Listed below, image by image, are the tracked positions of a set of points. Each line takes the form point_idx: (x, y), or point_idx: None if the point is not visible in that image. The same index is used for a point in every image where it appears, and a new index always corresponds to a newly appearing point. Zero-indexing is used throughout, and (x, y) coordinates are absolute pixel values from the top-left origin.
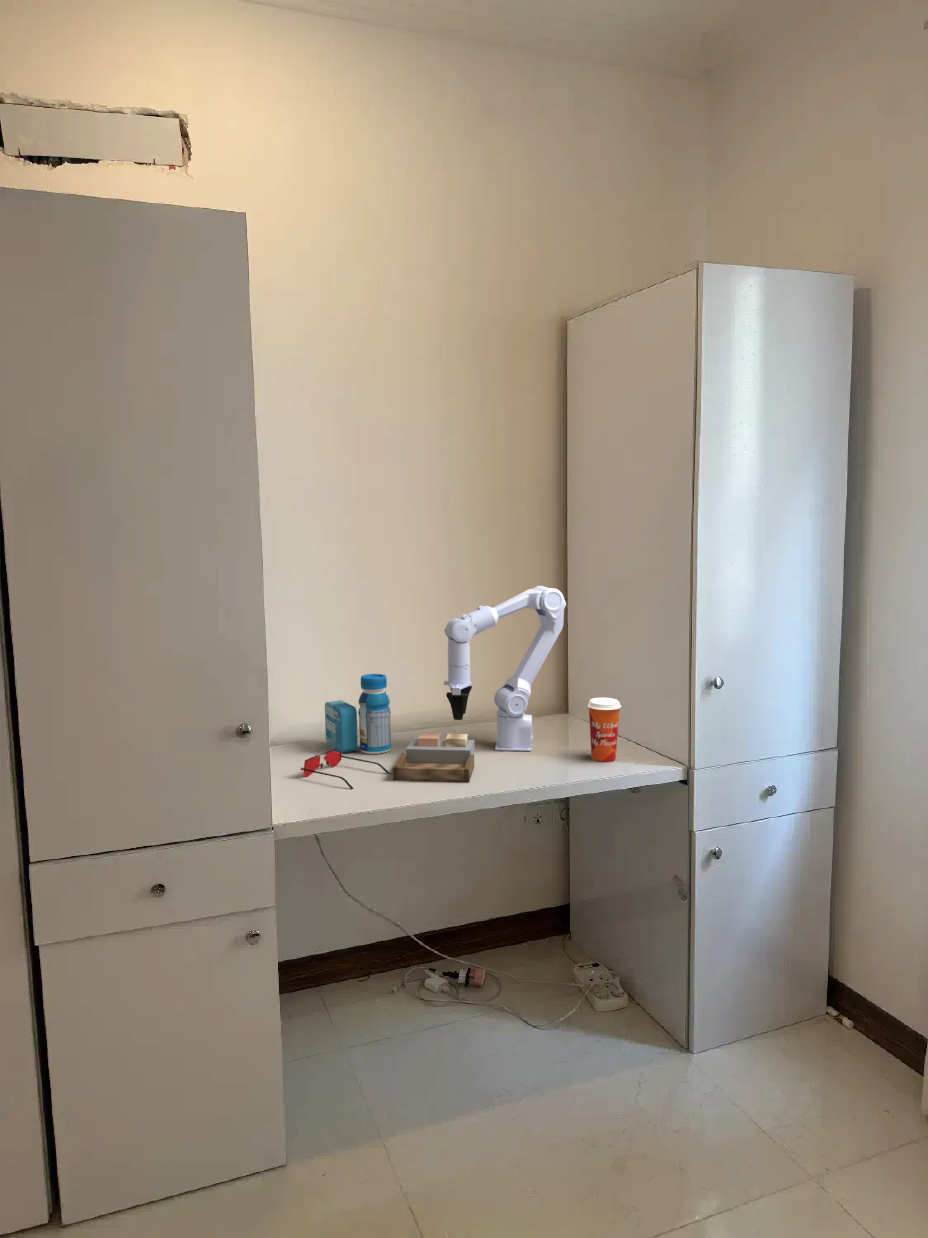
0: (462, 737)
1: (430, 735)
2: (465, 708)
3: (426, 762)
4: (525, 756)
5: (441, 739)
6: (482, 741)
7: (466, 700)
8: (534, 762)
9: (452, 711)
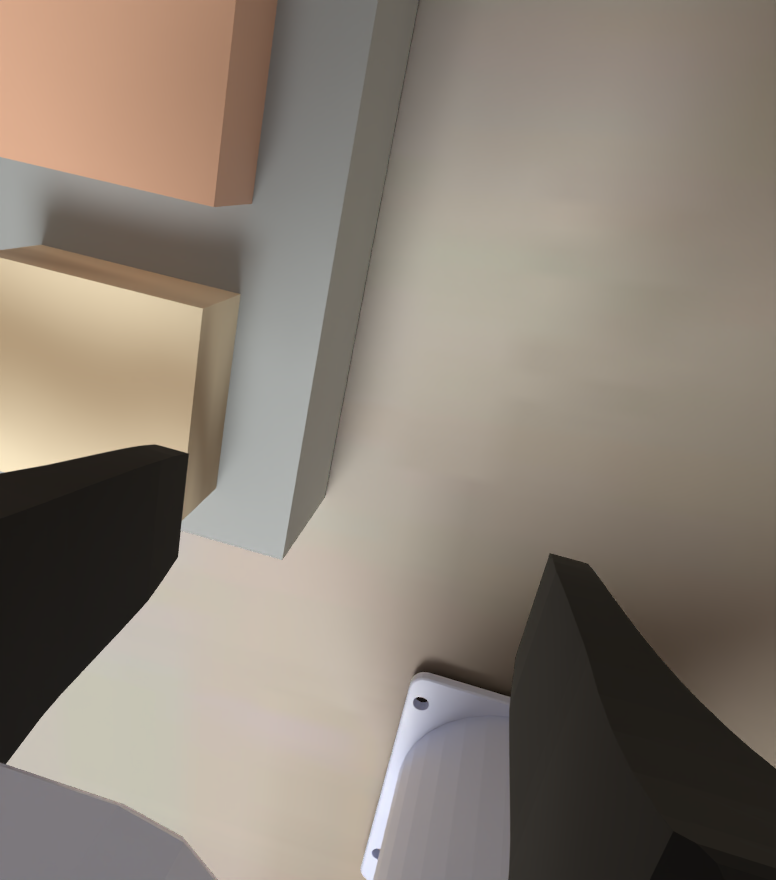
0: (41, 447)
1: (122, 56)
2: (512, 729)
3: None
4: (259, 802)
5: (320, 222)
6: (749, 643)
7: (509, 871)
8: (130, 806)
9: (45, 469)
